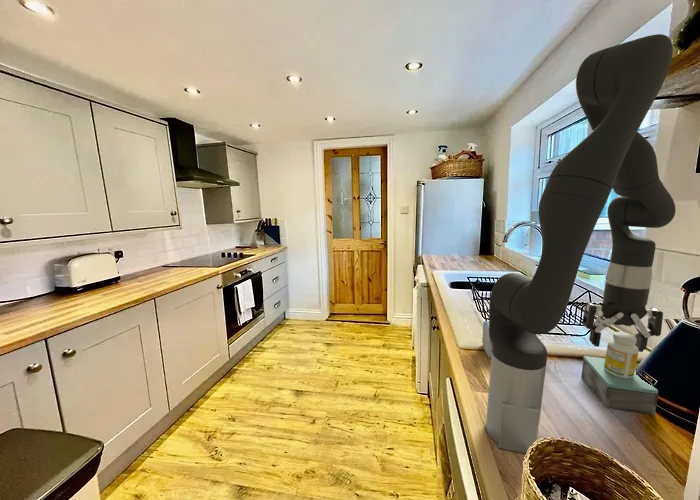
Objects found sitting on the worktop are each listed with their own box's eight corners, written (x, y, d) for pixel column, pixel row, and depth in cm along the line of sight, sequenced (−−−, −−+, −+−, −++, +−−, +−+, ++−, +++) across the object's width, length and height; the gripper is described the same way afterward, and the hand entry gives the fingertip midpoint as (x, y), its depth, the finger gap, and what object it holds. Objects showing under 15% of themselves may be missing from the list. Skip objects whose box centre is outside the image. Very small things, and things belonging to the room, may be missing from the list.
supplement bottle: (611, 377, 69) (617, 339, 67) (599, 364, 74) (604, 329, 72) (639, 380, 67) (646, 342, 65) (625, 367, 72) (631, 331, 70)
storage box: (654, 415, 65) (658, 395, 64) (605, 408, 67) (608, 388, 66) (622, 382, 76) (625, 365, 75) (581, 377, 79) (583, 360, 78)
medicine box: (503, 359, 88) (506, 332, 86) (487, 358, 89) (489, 331, 87) (496, 346, 95) (498, 321, 94) (481, 345, 96) (483, 320, 95)
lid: (657, 394, 64) (658, 390, 64) (607, 387, 67) (608, 384, 67) (624, 363, 75) (625, 360, 75) (583, 358, 78) (583, 355, 78)
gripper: (598, 284, 66) (588, 351, 69) (679, 290, 62) (664, 360, 65) (583, 276, 73) (574, 336, 76) (654, 280, 69) (642, 344, 72)
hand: (616, 347), depth 71 cm, fingers open, 8 cm apart
